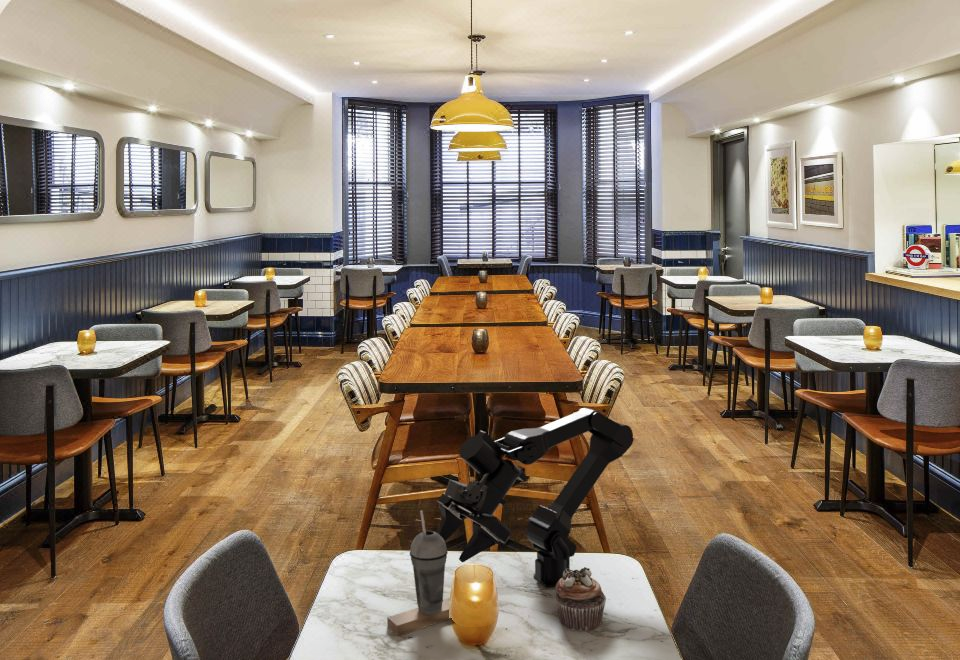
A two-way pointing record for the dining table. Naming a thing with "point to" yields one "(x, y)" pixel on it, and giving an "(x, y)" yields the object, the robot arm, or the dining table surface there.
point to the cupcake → (579, 600)
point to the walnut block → (416, 619)
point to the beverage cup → (429, 569)
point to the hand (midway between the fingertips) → (448, 553)
